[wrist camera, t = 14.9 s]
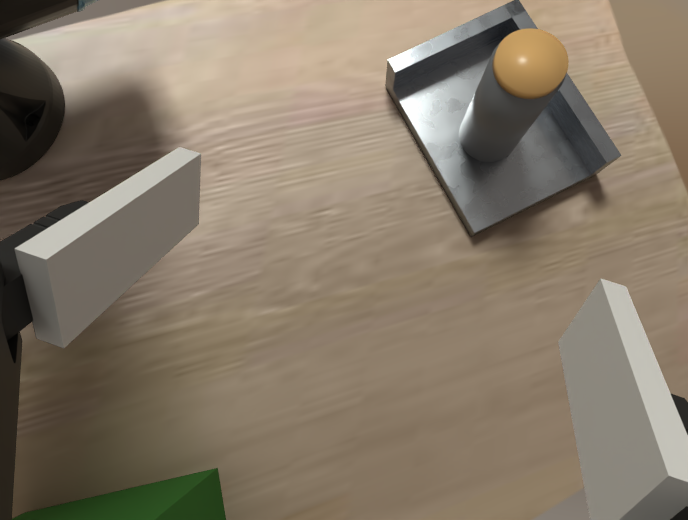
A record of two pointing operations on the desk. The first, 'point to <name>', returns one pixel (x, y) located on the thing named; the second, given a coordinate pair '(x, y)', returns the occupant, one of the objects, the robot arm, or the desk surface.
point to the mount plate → (452, 104)
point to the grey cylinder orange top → (512, 93)
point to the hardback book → (147, 502)
